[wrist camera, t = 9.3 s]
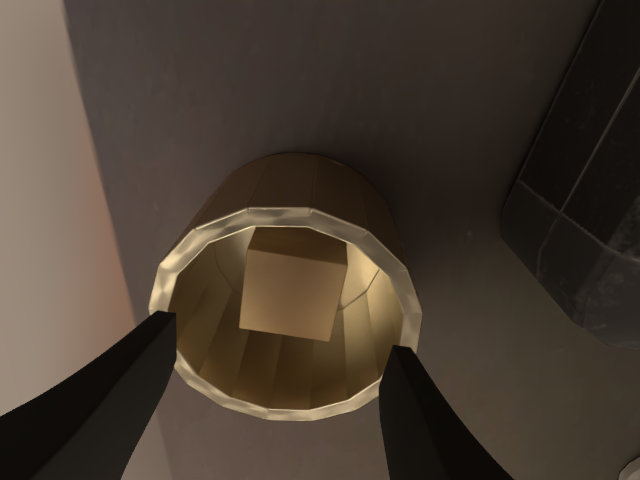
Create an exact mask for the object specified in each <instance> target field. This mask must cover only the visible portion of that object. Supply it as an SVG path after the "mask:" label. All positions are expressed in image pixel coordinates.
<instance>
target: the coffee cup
mask: <svg viewBox="0 0 640 480" xmlns="http://www.w3.org/2000/svg"><path fill="white" fill-rule="evenodd" d="M618 480H640V457H639V458H637V459H635V460H634V461H632V462H630V463H629V464H628V465H627V466H626V467H625V468H624V469H623V470H622V471H621V472H620V475H619V479H618Z"/></svg>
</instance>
